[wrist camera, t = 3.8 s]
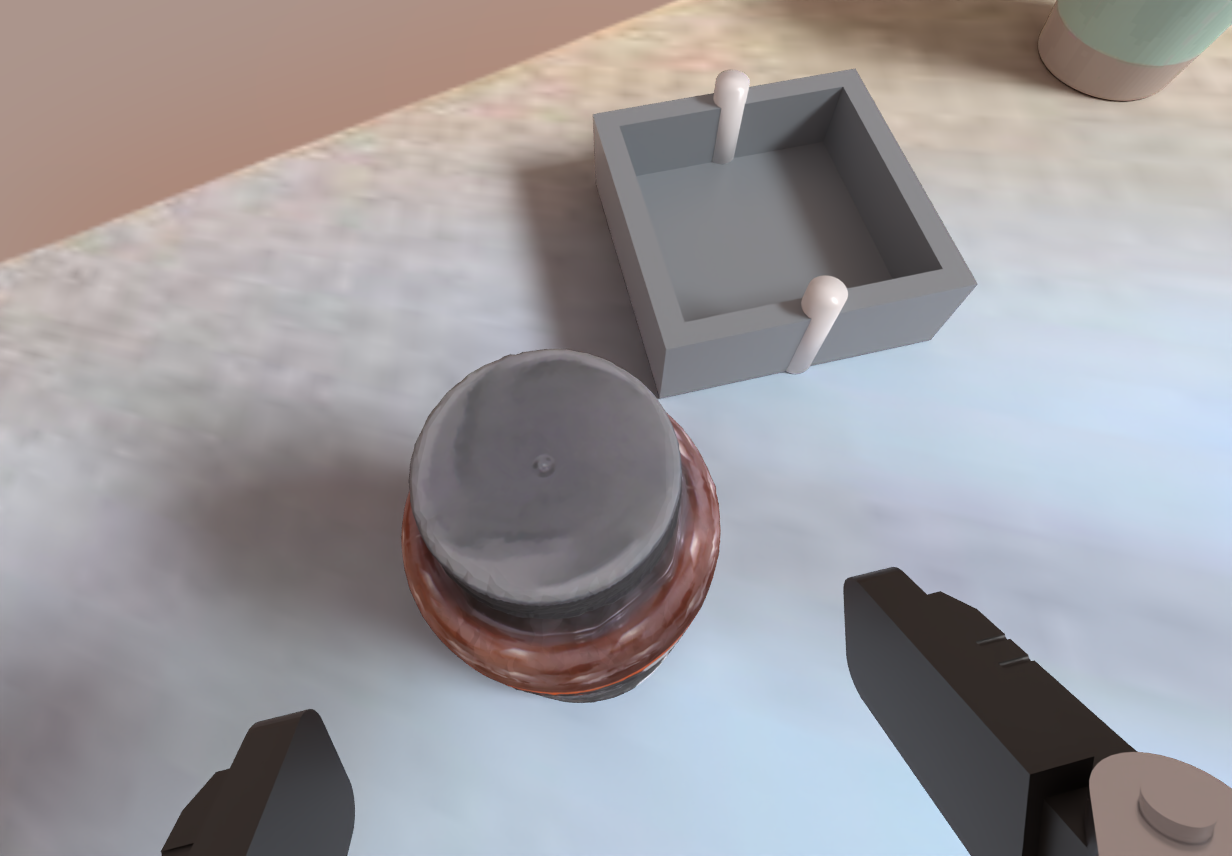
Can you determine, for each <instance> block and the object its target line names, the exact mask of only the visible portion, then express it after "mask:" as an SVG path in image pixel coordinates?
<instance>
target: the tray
mask: <svg viewBox="0 0 1232 856" xmlns="http://www.w3.org/2000/svg"><path fill="white" fill-rule="evenodd" d="M749 85H750V80H749V77H748V76H747V75H746V74H745V73H743V72H741V71H738V70H726V71H723V72H721V73H720V74H719V75H718V76H717V78H716V84H715V90H714V93H712V94H707V95H701V96H695V97H689V98H684V99H678V100H672V101H666V102H661V103H655V104H649V105H643V106H638V107H632V108H626V109H620V110H615V111H609V112H603V113H597V114H593V132H594V154H595V177H596V186H597V189H598V192H599V196H600V199H601V202H602V206H603V209H604V213H605V216H606V219H607V223H608V226H609V229H610V233H611V236H612V240H613V243H614V246H615V250H616V253H617V256H618V260H619V263H620V266H621V270H622V273H623V277H624V280H625V283H626V287H627V290H628V293H629V297H630V300H631V304H632V307H633V310H634V314H635V317H636V320H637V324H638V327H639V330H640V334H641V337H642V341H643V344H644V347H645V351H646V354H647V357H648V361H649V364H650V368H651V371H652V374H653V378H654V381H655V384H656V388H657V391H658V395H659V398H660V399H661V398H665V397H670V396H675V395H679V394H684V393H688V392H693V391H698V390H702V389H707V388H711V387H716V386H721V385H725V384H730V383H735V382H739V381H744V380H748V379H753V378H758V377H762V376H767V375H771V374H776V373H781V372H785V371H786V372H788V373H791V374H800V373H803V372H805V371H806V370H807V369H808V368H809V367H810V366H813V365H817V364H822V363H827V362H831V361H836V360H841V359H845V358H850V357H854V356H859V355H864V354H868V353H873V352H877V351H882V350H887V349H891V348H896V347H900V346H905V345H910V344H914V343H919V342H923V341H928V340H931V339H932V338H933V337H934V335H935V334H936V333H937V332H938V331H939V329H940V328H941V327H942V326H943V325H944V323H945V322H946V321H947V320H948V319H949V318H950V316H951V315H952V314H953V313H954V312H955V310H956V309H957V308H958V307H959V306H960V305H961V303H962V302H963V301H964V300H965V299H966V297H967V296H968V295H969V294H970V293H971V291H972V290H973V289H974V288H975V287H976V286H977V282H976V280H975V279H974V277H973V275H972V273H971V272H970V270H969V268H968V266H967V264H966V263H965V261H964V259H963V257H962V256H961V254H960V252H959V250H958V249H957V247H956V245H955V243H954V242H953V240H952V238H951V236H950V235H949V233H948V231H947V229H946V227H945V226H944V224H943V222H942V220H941V219H940V217H939V215H938V213H937V212H936V210H935V208H934V206H933V205H932V203H931V201H930V199H929V198H928V196H927V194H926V192H925V190H924V189H923V187H922V185H921V183H920V182H919V180H918V178H917V176H916V175H915V173H914V171H913V169H912V168H911V166H910V164H909V162H908V161H907V159H906V157H905V155H904V153H903V152H902V150H901V148H900V146H899V145H898V143H897V141H896V139H895V138H894V136H893V134H892V132H891V131H890V129H889V127H888V125H887V124H886V122H885V120H884V118H883V116H882V115H881V113H880V111H879V109H878V108H877V106H876V104H875V102H874V101H873V99H872V97H871V95H870V94H869V92H868V90H867V88H866V87H865V85H864V83H863V81H862V79H861V78H860V76H859V74H858V72H857V71H856V69H850V70H844V71H839V72H833V73H827V74H821V75H816V76H810V77H804V78H798V79H793V80H787V81H781V82H776V83H770V84H764V85H758V86H753V87H749Z"/></svg>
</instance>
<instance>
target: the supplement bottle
mask: <svg viewBox="0 0 1232 856" xmlns="http://www.w3.org/2000/svg"><path fill="white" fill-rule="evenodd" d="M409 488H410V491H409V494H408V497H407V500H406V504H405V509H404V515H403V523H402V536H401V542H402V554H403V562H404V568H405V572H406V576H407V580H408V584H409V588H410V591H411V593H412V595H413V597H414V600H415V602H416V604H417V606H418V608H419V610H420V612H421V614H422V616H423V618H424V619H425V620H426V622H427V623H428V625H429V626H430V628H431V629H432V630H433V632H434V633H435V634H436V635H437V637H438V638H439V639H440V640H441V641H442V642H443V643H444V644H445V645H446V646H447V647H448V648H449V649H450V650H451V651H452V652H453V653H454V654H456V655H457V656H458V657H459V658H460V659H462V660H463V661H464V662H465V663H467V664H468V665H469V666H471V667H472V668H474V669H475V670H476V671H478V672H480V673H482V674H483V675H485V676H487V677H489V678H491V679H493V680H496V681H498V682H500V683H503V684H505V685H507V686H510V687H513V688H514V689H516V690H522V691H525V692H529V693H533V694H536V695H540V696H544V697H547V698H551V699H555V700H559V701H564V702H572V703H586V702H596V701H601V700H606V699H610V698H614V697H617V696H619V695H621V694H624V693H625V692H628V691H630V690H631V689H633V688H635V687H636V686H638V685H639V684H640V683H642V682H643V681H644V680H645V679H647V678H648V677H649V676H650V675H651V674H652V673H654V671H655V670H656V669H657V668H658V667H659V666H660V664H661V663H662V662H663V661H664V659H665V658H666V657H667V656H668V654H669V653H670V651H671V650H672V649H673V647H674V646H675V645H676V643H677V642H678V641H679V640H680V638H681V637H682V636H683V634H684V633H685V631H686V630H687V628H688V627H689V625H690V624H691V622H692V621H693V619H694V618H695V616H696V615H697V613H698V612H699V610H700V608H701V607H702V605H703V602H704V600H705V598H706V595H707V593H708V590H709V588H710V585H711V582H712V579H713V575H714V571H715V567H716V563H717V559H718V555H719V545H720V531H721V530H720V513H719V503H718V498H717V495H716V486H715V484H714V482H713V480H712V478H711V476H710V473H709V470H708V468H707V466H706V464H705V463H704V460H703V458H702V456H701V454H700V453H699V451H698V449H697V447H696V446H695V444H694V443H693V442H692V440H691V438H690V437H689V436H688V435H687V434H686V433H685V431H684V430H683V428H682V427H681V426H680V425H679V424H678V423H677V422H676V421H675V420H674V419H673V418H672V417H670V416H669V415H668V413H666V412H665V410H664V409H663V407H662V406H661V404H660V403H659V401H658V400H657V398H656V397H655V395H654V394H653V393H652V392H651V391H650V390H649V389H648V388H647V387H646V386H645V385H644V384H643V383H642V382H641V381H640V380H639V379H637V378H636V377H634V376H633V375H631V374H630V373H628V372H627V371H626V370H624V369H622V368H620V367H618V366H616V365H615V364H614V363H612V362H610V361H608V360H606V359H603V358H601V357H597V356H594V355H591V354H589V353H583V352H577V351H573V350H569V349H544V350H536V351H529V352H522V353H520V354H516V355H512V354H510V355H507V356H504V357H503V358H501V359H500V360H497V361H494V362H492V363H489V364H487V365H484V366H482V367H481V368H479V369H477V370H475V371H474V372H472V373H470V374H468V375H467V376H466V377H465V378H464V379H463V380H462V381H461V382H459V383H458V384H457V385H455V386H454V387H453V388H452V389H451V390H450V391H449V392H447V393H446V395H445V396H444V397H443V398H442V400H441V401H440V402H439V404H438V405H437V406H436V407H435V408H434V409H433V411H432V412H431V413H430V415H429V416H428V418H427V420H426V422H425V425H424V427H423V429H422V431H421V433H420V435H419V437H418V439H417V441H416V443H415V447H414V452H413V454H412V458H411V463H410V474H409Z"/></svg>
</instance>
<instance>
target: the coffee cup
mask: <svg viewBox="0 0 1232 856" xmlns="http://www.w3.org/2000/svg"><path fill="white" fill-rule="evenodd" d="M1231 25H1232V0H1057V1H1056V3H1055V5H1054V7H1053V9H1052V11H1051V13H1050V15H1049V17H1048V19H1047V21H1046V23H1045V25H1044V27H1043V29H1042V32H1041V34H1040V36H1039V40H1038V50H1039V54H1040V56H1041V59H1042V61H1043V62H1044V64H1045V65H1046V67H1047V68H1048V69H1049V70H1050V72H1051V73H1052V74H1054V75H1055V76H1056V77H1057V78H1058V79H1059V80H1061V81H1062V82H1063V83H1065V84H1066V85H1068V86H1070V87H1072V88H1074V89H1076V90H1078V91H1080V92H1082V93H1085V94H1088V95H1091V96H1094V97H1098V98H1102V99H1108V100H1118V101H1130V100H1138V99H1142V98H1146V97H1149V96H1152V95H1154V94H1156V93H1158V92H1159V91H1161V90H1162V89H1163V88H1164V87H1165V86H1167V85H1168V84H1169V83H1170V82H1171V81H1172V80H1173V79H1174V78H1175V77H1176V76H1177V75H1178V74H1179V73H1180V72H1182V71H1183V70H1184V69H1185V68H1186V67H1187V66H1188V65H1189V64H1190V63H1191V62H1192V61H1193V60H1194V59H1195V58H1196V57H1198V56H1199V55H1200V54H1201V53H1202V52H1203V51H1204V50H1205V49H1206V48H1207V47H1208V46H1209V45H1210V44H1211V43H1213V42H1214V41H1215V40H1216V39H1217V38H1218V37H1219V36H1220V35H1221V34H1222V33H1223V32H1224V31H1225V30H1226V29H1227V28H1228V27H1229V26H1231Z"/></svg>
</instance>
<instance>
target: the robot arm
mask: <svg viewBox="0 0 1232 856" xmlns="http://www.w3.org/2000/svg"><path fill="white" fill-rule="evenodd" d="M844 614H845V636H846V656H847V663H848V667H849V671H850V674H851V677H852V680H853V682H854V685H855V687H856V689H857V691H858V693H859V695H860V697H861V698H862V700H863V701H864V703H865V704H866V706H867V707H868V708H869V710H870V711H871V713H872V714H873V716H874V717H875V719H876V720H877V721H878V723H879V724H880V726H881V727H882V729H883V730H884V731H885V733H886V734H887V736H888V737H889V739H890V740H891V741H892V743H893V744H894V746H895V747H896V749H897V750H898V752H899V753H900V754H901V756H902V757H903V759H904V760H905V762H906V763H907V764H908V766H909V767H910V769H911V770H912V772H913V773H914V775H915V776H916V777H917V779H918V780H919V782H920V783H921V785H922V786H923V787H924V789H925V790H926V792H927V793H928V795H929V796H930V798H931V799H932V800H933V802H934V803H935V805H936V806H937V808H938V809H939V810H940V812H941V813H942V815H943V816H944V818H945V819H946V821H947V822H948V823H949V825H950V826H951V828H952V829H953V831H954V832H955V833H956V835H957V836H958V838H959V839H960V841H961V842H962V843H963V845H964V846H965V848H966V849H967V851H968V852H969V854H970V855H971V856H1232V788H1230V787H1229V786H1227V785H1226V784H1224V783H1223V782H1222V781H1220V780H1218V779H1217V778H1215V777H1213V776H1212V775H1210V774H1208V773H1207V772H1205V771H1202V770H1200V769H1198V768H1196V767H1194V766H1192V765H1190V764H1187V763H1184V762H1182V761H1179V760H1176V759H1173V758H1169V757H1166V756H1162V755H1157V754H1151V753H1143V752H1137V751H1136V750H1135V749H1133V748H1132V747H1131V746H1130V745H1128V744H1127V743H1126V742H1125V741H1124V740H1123V739H1122V738H1121V737H1120V736H1118V735H1117V734H1116V733H1115V732H1114V731H1113V730H1112V729H1111V728H1109V727H1108V726H1107V725H1106V724H1105V723H1104V722H1103V721H1102V720H1100V719H1099V718H1098V717H1097V716H1096V715H1095V714H1094V713H1093V712H1091V711H1090V710H1089V709H1088V708H1087V707H1086V706H1085V705H1084V704H1083V703H1081V702H1080V701H1079V700H1078V699H1077V698H1076V697H1075V696H1074V695H1072V694H1071V693H1070V692H1069V691H1068V690H1067V689H1066V688H1065V687H1063V686H1062V685H1061V684H1060V683H1059V682H1058V681H1057V680H1056V679H1055V678H1053V677H1052V676H1051V675H1050V674H1049V673H1048V672H1047V671H1046V670H1044V669H1043V668H1042V667H1041V666H1040V665H1039V664H1038V663H1037V662H1035V661H1031V660H1030V659H1029V657H1028V654H1027V653H1025V652H1024V651H1023V650H1022V649H1021V648H1020V647H1019V646H1018V645H1016V644H1015V643H1014V642H1013V641H1012V640H1011V639H1008V640H1007V639H1006V637H1005V634H1004V633H1003V632H1002V631H1001V630H1000V629H998V628H997V627H996V626H995V625H994V624H993V623H992V622H991V621H990V620H988V619H987V618H986V617H985V616H984V615H983V614H982V613H981V612H979V611H978V610H977V609H975V608H973V607H971V606H969V605H967V604H965V603H963V602H961V601H959V600H957V599H955V598H953V597H951V596H949V595H947V594H945V593H943V592H941V591H940V592H936V593H932V594H928V595H927V594H926V593H925V592H924V591H923V590H922V589H921V588H920V587H919V586H917V585H916V584H915V583H914V582H913V581H912V580H911V579H910V578H909V577H908V576H907V575H906V574H905V573H904V572H903V571H902V570H900V569H899V568H896V567H890V568H886V569H882V570H878V571H874V572H870V573H866V574H862V575H858V576H854V577H850V578H847V579H846V580H845V583H844ZM354 820H355V803H354V795H353V790H352V786H351V783H350V781H349V778H348V776H347V774H346V772H345V769H344V767H343V765H342V763H341V761H340V758H339V756H338V754H337V752H336V750H335V747H334V745H333V743H332V741H331V738H330V736H329V734H328V732H327V730H326V727H325V725H324V723H323V721H322V719H321V717H320V715H319V714H318V713H317V712H316V711H315V710H313V709H308V710H304V711H300V712H296V713H292V714H288V715H284V716H280V717H276V718H272V719H268V720H264V721H260V722H257V723H255V724H254V725H252V727H251V728H250V729H249V731H248V732H247V734H246V736H245V738H244V740H243V742H242V744H241V747H240V749H239V751H238V753H237V755H236V757H235V759H234V761H233V763H232V765H231V767H230V769H226V770H223V771H219V772H216V773H215V774H214V775H213V776H212V778H211V779H210V780H209V781H208V782H207V783H206V784H205V786H204V787H203V788H202V789H201V790H200V791H199V792H198V793H197V795H196V796H195V797H194V798H193V799H192V800H191V801H190V803H189V804H188V805H187V806H186V807H185V808H184V809H183V811H182V813H181V814H180V816H179V818H178V820H177V822H176V824H175V826H174V828H173V830H172V832H171V833H170V835H169V837H168V839H167V841H166V843H165V845H164V847H163V849H162V851H161V853H162V856H347V854H348V850H349V846H350V842H351V838H352V834H353V829H354Z"/></svg>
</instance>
